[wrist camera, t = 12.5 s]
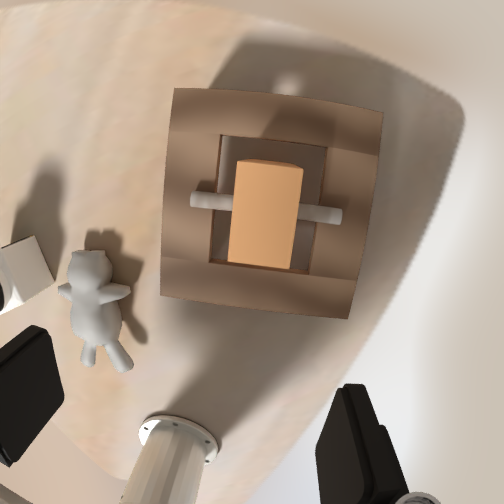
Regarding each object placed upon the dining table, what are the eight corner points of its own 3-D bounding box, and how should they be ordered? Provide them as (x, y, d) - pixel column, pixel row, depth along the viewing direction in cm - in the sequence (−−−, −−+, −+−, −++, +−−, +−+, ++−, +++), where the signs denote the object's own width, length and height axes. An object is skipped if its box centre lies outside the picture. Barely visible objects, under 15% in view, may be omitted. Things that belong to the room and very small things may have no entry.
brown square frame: (332, 284, 33) (350, 326, 24) (184, 265, 34) (155, 301, 25) (357, 123, 29) (388, 110, 20) (198, 104, 29) (169, 84, 20)
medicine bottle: (35, 233, 34) (-29, 260, 23) (56, 282, 36) (-2, 321, 24) (8, 251, 35) (-50, 278, 24) (28, 295, 37) (-26, 332, 26)
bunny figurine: (112, 254, 30) (131, 383, 32) (133, 247, 35) (146, 363, 37) (46, 254, 31) (67, 371, 33) (70, 247, 36) (86, 354, 38)
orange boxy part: (284, 229, 31) (289, 269, 20) (243, 224, 31) (227, 261, 21) (293, 163, 29) (303, 169, 18) (250, 158, 29) (237, 161, 19)
